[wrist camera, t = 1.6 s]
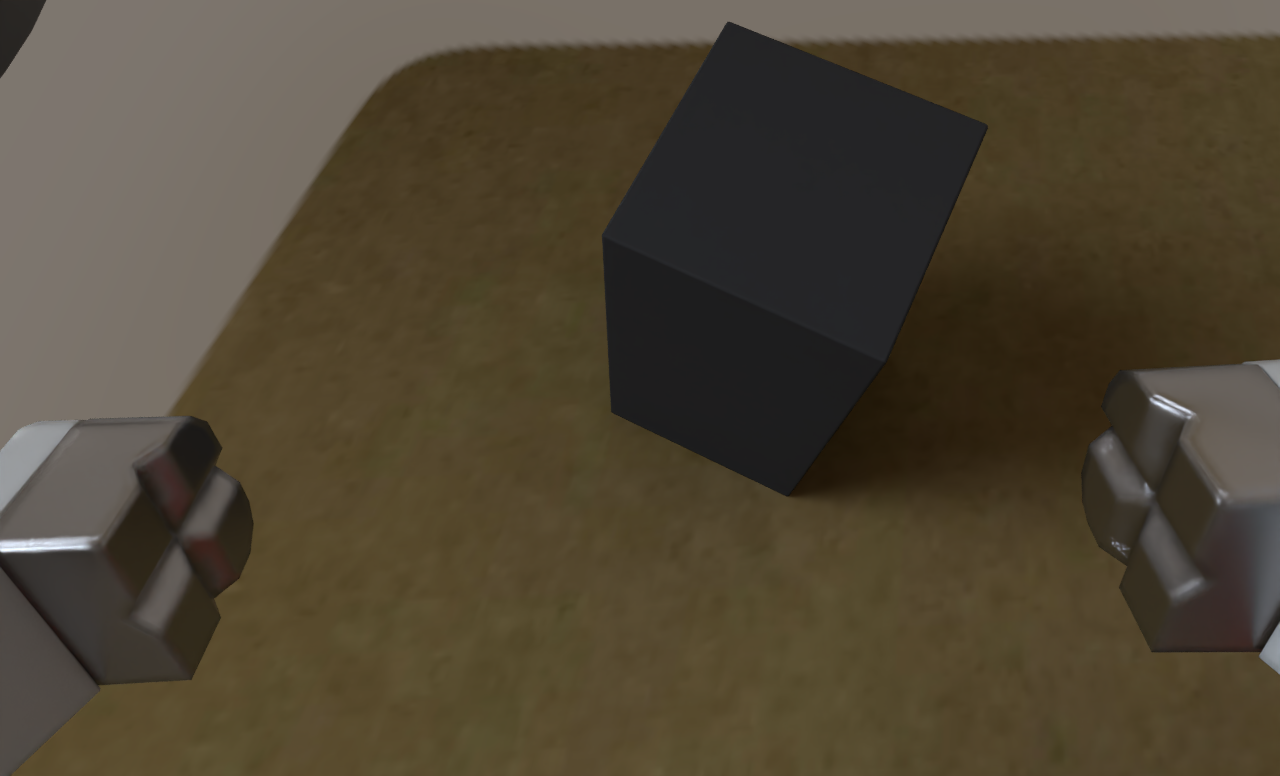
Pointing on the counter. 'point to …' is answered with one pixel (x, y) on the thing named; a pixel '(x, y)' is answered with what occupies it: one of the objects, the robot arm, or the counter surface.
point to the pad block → (774, 252)
